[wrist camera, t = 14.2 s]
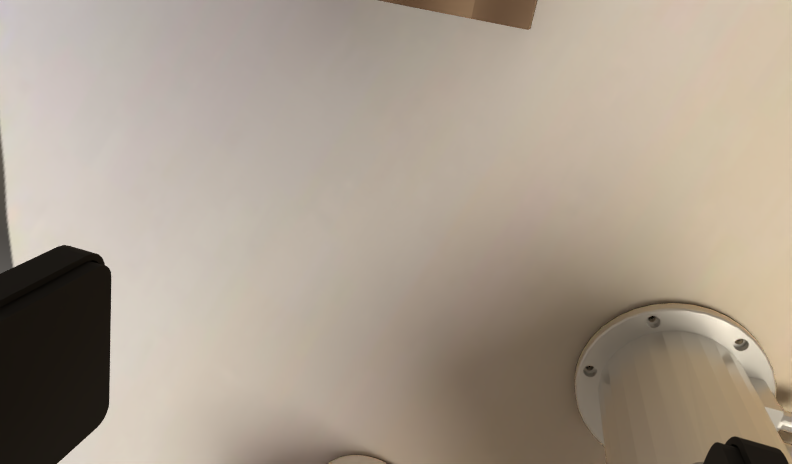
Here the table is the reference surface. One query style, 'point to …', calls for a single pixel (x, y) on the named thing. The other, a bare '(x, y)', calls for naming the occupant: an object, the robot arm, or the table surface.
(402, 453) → the table surface
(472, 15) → the socket block
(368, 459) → the fruit juice
